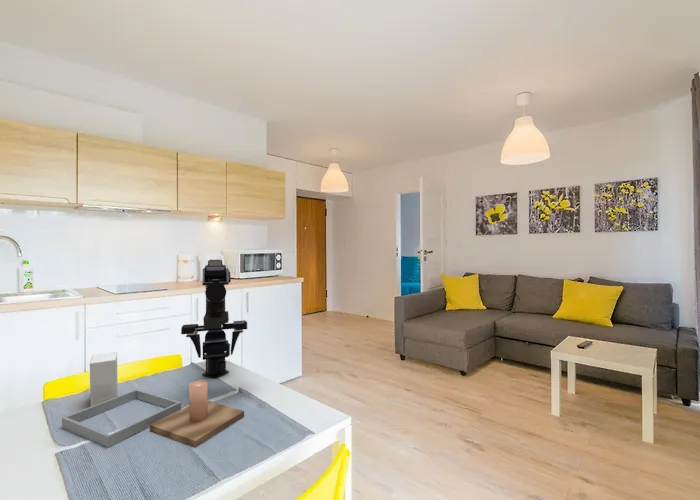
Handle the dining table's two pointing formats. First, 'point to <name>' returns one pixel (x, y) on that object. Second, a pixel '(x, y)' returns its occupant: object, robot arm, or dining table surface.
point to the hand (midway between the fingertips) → (215, 356)
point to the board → (197, 424)
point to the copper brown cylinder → (198, 401)
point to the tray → (108, 440)
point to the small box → (103, 378)
